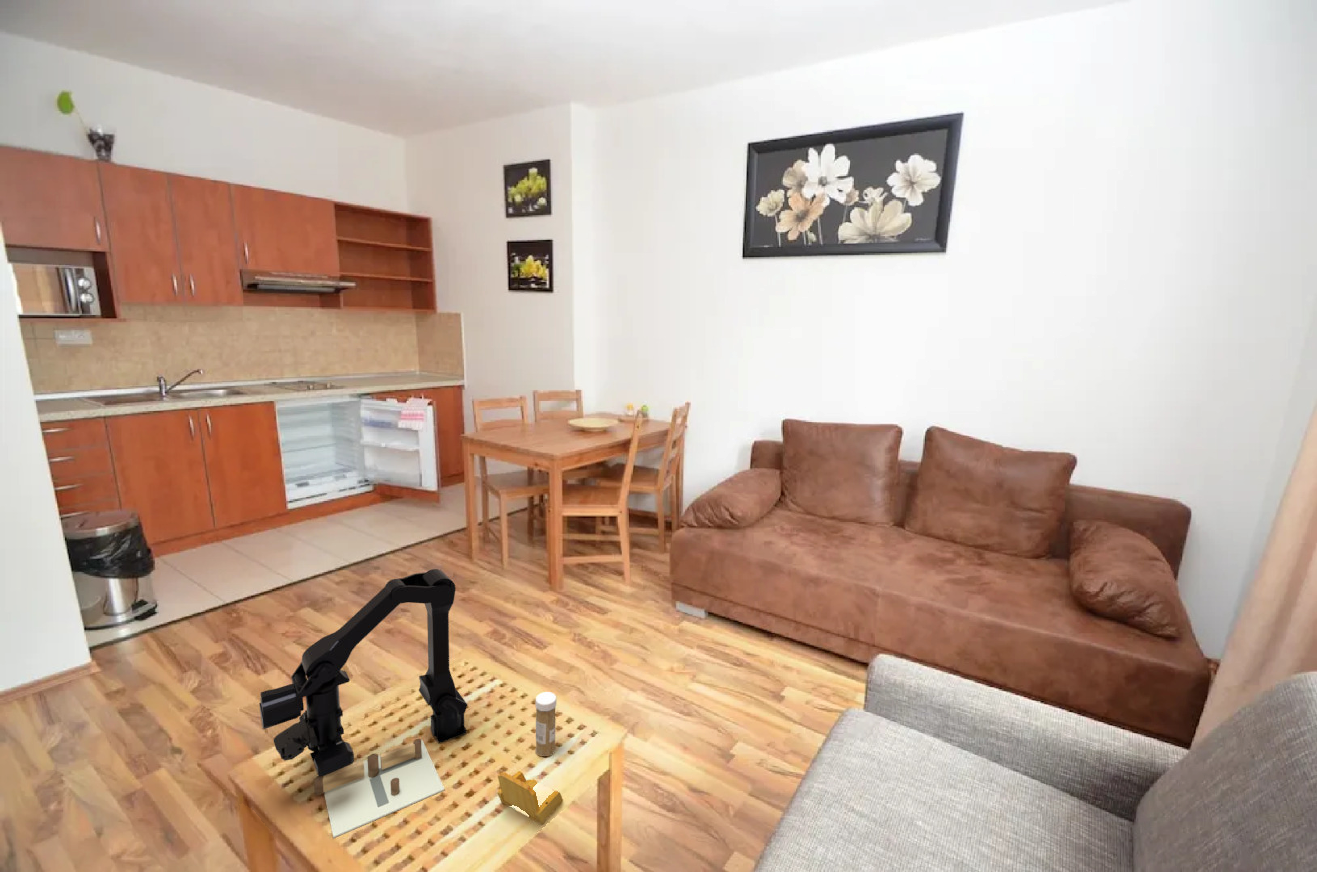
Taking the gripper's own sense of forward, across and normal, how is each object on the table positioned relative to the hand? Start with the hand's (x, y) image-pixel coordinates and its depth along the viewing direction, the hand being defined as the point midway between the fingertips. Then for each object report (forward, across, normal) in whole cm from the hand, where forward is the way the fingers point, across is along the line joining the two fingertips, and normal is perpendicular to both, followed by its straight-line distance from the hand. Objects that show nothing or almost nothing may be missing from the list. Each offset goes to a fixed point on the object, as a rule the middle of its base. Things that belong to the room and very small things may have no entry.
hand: (328, 774), depth 118 cm
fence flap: (0, +4, +1) cm, 4 cm away
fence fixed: (+2, +8, +11) cm, 14 cm away
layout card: (+2, +8, +8) cm, 11 cm away
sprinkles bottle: (+2, +20, +39) cm, 44 cm away
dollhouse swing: (+2, +31, +29) cm, 43 cm away
